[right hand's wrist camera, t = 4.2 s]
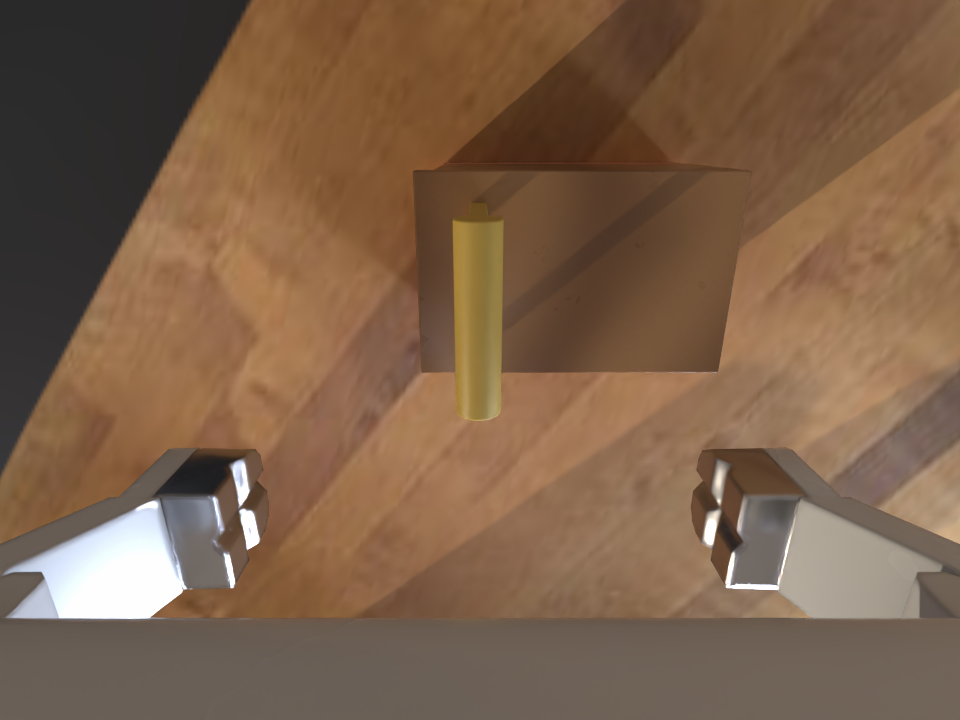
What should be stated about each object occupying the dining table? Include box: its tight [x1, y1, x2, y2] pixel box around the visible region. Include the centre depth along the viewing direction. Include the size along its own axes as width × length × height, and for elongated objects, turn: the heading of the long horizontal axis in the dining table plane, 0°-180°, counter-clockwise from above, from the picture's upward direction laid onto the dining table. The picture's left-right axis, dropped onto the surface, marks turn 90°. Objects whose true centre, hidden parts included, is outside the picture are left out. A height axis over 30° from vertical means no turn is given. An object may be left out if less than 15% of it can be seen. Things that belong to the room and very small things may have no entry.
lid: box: [413, 170, 752, 421], centre depth 23 cm, size 15×10×8 cm, turn 90°
